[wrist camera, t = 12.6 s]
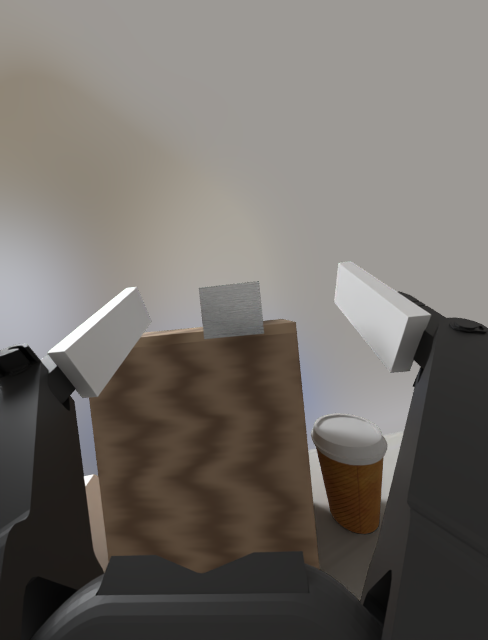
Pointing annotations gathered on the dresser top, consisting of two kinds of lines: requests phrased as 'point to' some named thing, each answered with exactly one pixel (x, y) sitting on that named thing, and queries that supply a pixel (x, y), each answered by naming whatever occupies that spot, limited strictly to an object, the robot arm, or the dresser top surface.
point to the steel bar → (231, 310)
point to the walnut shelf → (206, 449)
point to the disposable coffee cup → (351, 469)
